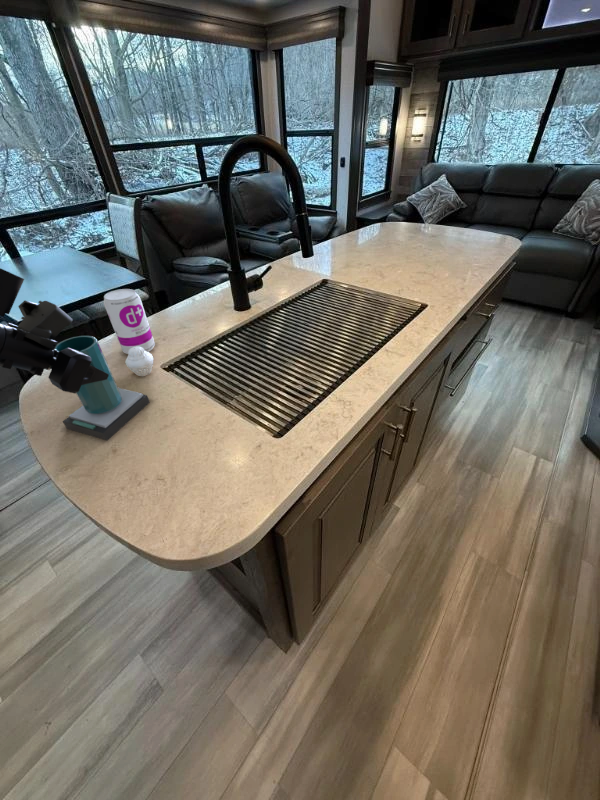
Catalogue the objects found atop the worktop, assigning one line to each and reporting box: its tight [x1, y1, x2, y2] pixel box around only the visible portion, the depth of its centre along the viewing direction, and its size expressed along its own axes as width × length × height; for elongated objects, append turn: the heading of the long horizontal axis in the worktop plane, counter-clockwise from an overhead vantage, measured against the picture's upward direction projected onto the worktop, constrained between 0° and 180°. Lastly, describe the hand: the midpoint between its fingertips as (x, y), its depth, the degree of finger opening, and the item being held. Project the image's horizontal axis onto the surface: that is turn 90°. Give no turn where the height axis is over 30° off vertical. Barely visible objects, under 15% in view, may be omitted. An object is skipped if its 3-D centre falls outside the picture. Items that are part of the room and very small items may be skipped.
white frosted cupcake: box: [124, 346, 154, 377], centre depth 78 cm, size 6×6×7 cm
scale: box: [62, 387, 151, 441], centre depth 67 cm, size 12×10×3 cm
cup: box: [55, 335, 122, 414], centre depth 62 cm, size 7×7×13 cm
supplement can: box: [103, 288, 156, 355], centre depth 84 cm, size 8×8×15 cm
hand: (96, 370), depth 62 cm, fingers closed on cup, 7 cm apart
